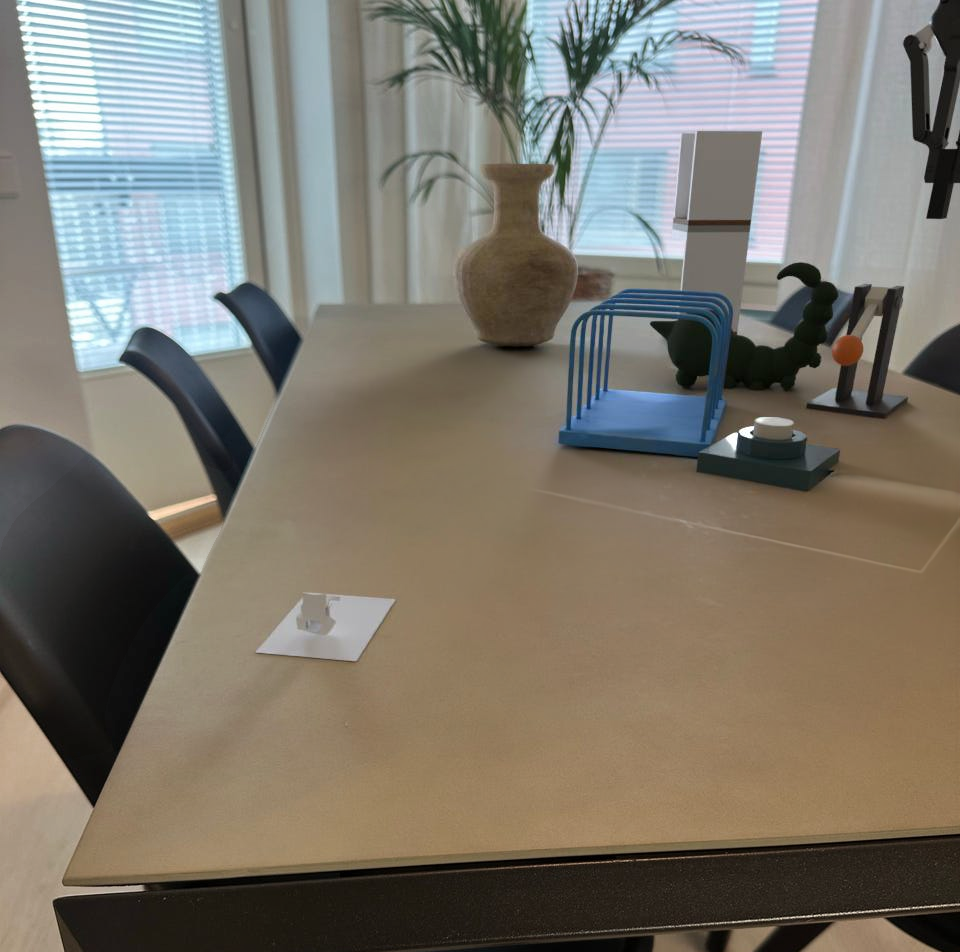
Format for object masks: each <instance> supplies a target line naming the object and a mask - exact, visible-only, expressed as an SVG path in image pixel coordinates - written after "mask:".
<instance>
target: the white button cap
mask: <svg viewBox="0 0 960 952" xmlns="http://www.w3.org/2000/svg"><path fill="white" fill-rule="evenodd" d="M754 419H755V420H754V423H753V426H754V429H753V436H756V437H758V438H765V439H773V440H785V439H792V433H793V429H794V426H795V422H794V420H791V419H788V418H784V417H777V416H762V417H758V418H754Z"/></svg>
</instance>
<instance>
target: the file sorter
mask: <svg viewBox="0 0 960 952" xmlns="http://www.w3.org/2000/svg"><path fill="white" fill-rule="evenodd" d="M680 295H691V296H680ZM699 296H709V297H699ZM712 297H717V298H720V299H722V300H723V301H724V302H725V303H726V304H727V306H728V309H729V313H728V310H727V308H726V306H725V305H724V304H723V303H722V302H721V301H720V300H718V299H716V298H712ZM679 300H681V301H679ZM689 301H699V302H689ZM705 302H711V303H714V304H716V305H718V306H719V307H720V308H721V309H722V311H723V313H724V314H723V313H722V311H721V310H720V309H719V308H718V307H717V306H715V305H713V304H711V303H705ZM679 306H686V307H679ZM688 307H702V308H709V309H711V310H713V311H715V312H716V313H717V314H718V316H719V318H720V320H721V325H720V322H719V320H718V319H717V317H716V316H715V315H714V314H713V313H712V312H710V311H708V310H705V309H701V308H688ZM678 312H681V313H696V314H703V315H706V316H708V317H709V318H710V319H711V320H712V321H713V322H714V324H715V326H716V330H715V328H714V326H713V325H712V323H711V322H710V321H709V320H707V319H706V318H704V317H701V316H698V315H688V314H678ZM591 316H592V319H591V328H590V340H589V354H588V355H589V356H588V371H587V375H588V376H587V389H586V403H585V404H584V405H583V406H582V404H583V390H584V389H583V384H584V368H585V367H584V366H585V349H586V348H585V347H586V333H587V332H586V331H587V324H588V322H589V319H590V318H591ZM599 316H600V318H599V328H598V329H599V331H598V342H597V343H598V345H597V359H596V360H597V361H596V374H595V375H596V376H595V392H594V393H595V394H594V395H593V393H592V392H593V377H594V359H595V349H596V348H595V347H596V336H597V323H598V317H599ZM606 316H607V317H608V323H607V336H606V348H605V359H604V360H605V362H604V371H603V372H604V375H603V388H601V378H602V362H603V361H602V360H603V350H604V335H605V319H606ZM614 317H628V318H629V317H631V318H632V317H633V318H649V319H650V318H651V319H666V320H667V319H668V320H678V319H680V320H694V321H699V322H701V323H703V324H704V325H706V326H707V327H708V328H709V330H710V332H711V335H712V352H711V361H710V369H709V375H708V377H707V386H706V394H705V396H703V395H702V396H701V395H688V394H676V393H661V392H650V391H637V390H636V391H635V390H623V389H622V390H621V389H609V387H608V386H609V373H610V371H609V370H610V359H611V345H612V335H613V323H614ZM732 320H733V307H732V304H731V302H730V301H729V299H728V298H727V297H726V296H724V295H723V294H720V293H716V292H702V291H684V290H681V289H660V288H633V287H632V288H625V289H623V290H621V291H619V292H617V293H616V294H614V295H612V296H611V297H609V298H608V299H606V300H604V301H602V302H600V303H599V304H598V305H595V306H593V307H592V308H590V309H589V310H588V311H585V312H584V313H582V314H580V316H578V317H577V318H576V319H575V321H574V323H573V324H572V327H571V330H570V340H569V354H568V371H567V373H568V374H567V375H568V376H567V394H566V416H565V424H564V425H563V426H562V427H561V428H560V429H559V430H558V438H557V443H558V444H559V445H564V446H573V447H582V448H583V447H584V448H600V449H601V448H603V449H612V450H613V449H615V450H624V451H635V452H644V453H646V452H647V453H655V454H668V455H674V456H678V457H679V456H680V457H681V456H682V457H689V458H698V454H699V452H700V451H702V450H704V449H705V448H707V447H709V446H711V445H713V444H714V442H715V439H716V436H717V432H718V431H719V428H720V425H721V422H722V419H723V416H724V413H725V410H726V408H727V402H728V399H727V398H725V397H723V393H724V388H723V385H724V379H725V371H726V364H727V357H728V350H729V343H730V336H731V329H732ZM580 325H581V326H580ZM579 326H580V335H579V354H578V372H577V374H578V376H577V395H576V412H575V414H574V415H573V416H572V414H573V413H572V411H573V393H574V392H573V391H574V373H575V370H574V369H575V353H576V339H577V331H578V327H579ZM716 331H717V333H716ZM592 395H593V396H592Z"/></svg>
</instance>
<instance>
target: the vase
mask: <svg viewBox="0 0 960 952" xmlns="http://www.w3.org/2000/svg"><path fill="white" fill-rule="evenodd" d="M555 170H556V166H555V164H553V163H482V164H480V165H479V172H480V174H481V176H482V177H483V178H484V179H486V180H488V181H489V182H490V183H491V185H492V187H493V222H492V223H493V224H492V227H491V229H490V231H489V232H488V233H487V234H485V235H484V236H483V237H480V238H478V239H476V240H474V241H473V242H471V243H469V244H468V245H466V246H465V247H464V248H463V249H462V250H460V252H459V253H458V254H457V256H456V258H455V260H454V263H453V267H452V268H453V280H454V288H455V291H456V295H457V298H458V301H459V303H460V305H461V307H462V309H463V311H464V313H465V315H466V316H467V318H468V319H469V322H470V323H471V325H472V327H473V331H474V336H475V338H476V339H477V340H479V341H480V342H482V343H486V344H489V345H493V346H497V345H498V347H504V346H526V347H533V346H537V345H540V344H543V343H547V342H549V341H551V340H552V339H553V338H554V336H555V334H556V328H557V326H558V324H559V323H560V321H561V319H562V318H563V316H564V314H565V313H566V311H567V309H568V308H569V305H570V304H571V302H572V300H573V296H574V294H575V291H576V287H577V281H578V274H579V266H578V261H577V258H576V257H575V255H574V253H572V251H571V250H570V249H569V248H568V247H567V246H565V245H564V244H563V243H561V242H559V241H557V240H556V239H554V238H552V237H550V236H548V235H547V234H545V233H544V232H543V231H542V229H541V225H540V193H541V192H540V191H541V186H542V184H543V183H544V182H545V181H546V180H547V179H550V178H551V177H552V176H553V175H554V173H555ZM532 345H533V346H532Z"/></svg>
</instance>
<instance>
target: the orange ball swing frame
mask: <svg viewBox="0 0 960 952" xmlns="http://www.w3.org/2000/svg"><path fill="white" fill-rule="evenodd" d="M872 287H873V284H872V283H863V284H859V285H856V286H854V290H853V295H852V297H851V301H850V304H851V307H850V312H849V317H848V323H847V329H846V335H851V333H852V332H853V330H854V328H855V327H856V325H857V323H858V322H859V320H860V318H861V317H862V315H863V313H864V308H865V298H866V296H867V294H868V293H869V291H870V289H871V288H872ZM888 288H889V289H888V290H887V295H886V300H885V306H884V311H883V315H882V316H881V322H880V328H879V331H878V338H877V342H876V348H875V353H874V357H873V358H874V359H873V362H872V363H873V364H872V369H871V374H870V379H869V383H868V389H867V391H865V390H855V389H854V385H855V383H854V382H855V378H856V373H857V368H858V363H859V360H858V361H857V362H856V363H854V364H852V365H849V366H843V365H840V368H839V375H838V380H837V386H836V387H833V388H831V389H829V390H828V391H826V392H824V393H822V394H821V395H818V396H817V397H816V398H815V397H814V399H812V400H810V401H808V402H807V403H806V405H805V407H806V408H805V409H806V410H807V409H808V410H814V411H822V412H829V413H837V414H844V415H852V416H859V417H866V418H867V417H868V418H873V419H881V420H885V419H886V418H888V417H890V416H891V415H892V414H893V413H895V412H896V411H897V410H899V409H900V408H901V407H902V406H904V405H905V404H907V403H908V401H909V396H907V395H898V394H889V393H884V390H885V386H886V380H887V376H888V370H889V367H890V360H891V356H892V351H893V346H894V342H895V337H896V331H897V326H898V321H899V316H900V311H901V309H902V307H903V304H904V291H905V286H904V285H894V286H892V287H888ZM846 335H845V336H846ZM862 341H863V337H862V338H861V342H862Z"/></svg>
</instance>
